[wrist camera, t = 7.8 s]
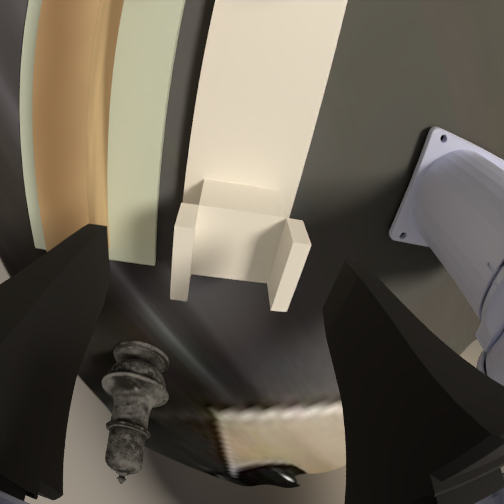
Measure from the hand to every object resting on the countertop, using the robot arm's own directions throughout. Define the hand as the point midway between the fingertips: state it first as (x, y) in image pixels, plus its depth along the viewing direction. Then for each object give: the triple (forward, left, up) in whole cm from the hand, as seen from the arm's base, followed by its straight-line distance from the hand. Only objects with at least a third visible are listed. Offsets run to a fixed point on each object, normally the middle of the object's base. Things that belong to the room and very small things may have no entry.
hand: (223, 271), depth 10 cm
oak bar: (+8, -6, -9) cm, 13 cm away
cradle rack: (-1, -6, -9) cm, 11 cm away
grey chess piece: (+5, +19, -9) cm, 22 cm away
